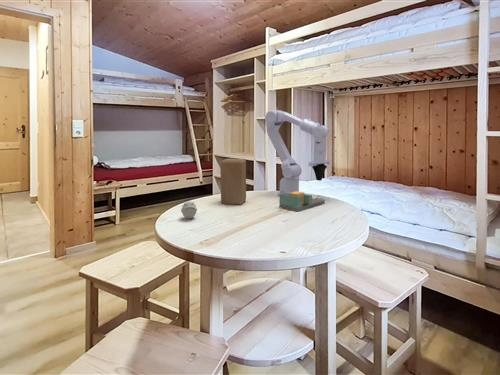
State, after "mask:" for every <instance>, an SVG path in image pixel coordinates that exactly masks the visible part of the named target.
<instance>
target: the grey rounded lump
mask: <svg viewBox="0 0 500 375" xmlns="http://www.w3.org/2000/svg"><path fill="white" fill-rule="evenodd" d="M197 211H198V208H197V206H196V203H195V202H193V201H191V200H187V201H185V202H184V203H183V204H182V206H181V209H180V213H181V214H182V215H183V217H184V218H185V219H190V218H191V219H193V218H194V217H195V215H196V214H197Z"/></svg>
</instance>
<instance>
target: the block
mask: <svg viewBox="0 0 500 375" xmlns="http://www.w3.org/2000/svg"><path fill="white" fill-rule="evenodd" d="M219 164H220V166H219V167H220V168H219V170H220V171H219V172H220V173H219V174H220V202H221V204H222V205H231V204H234V206H237V205H238V206H240V205H241V206H242V205H243V203H245V202H246V200H247V160H246V159H245V158H225V159H222V160H220V163H219Z"/></svg>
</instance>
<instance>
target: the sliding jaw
mask: <svg viewBox="0 0 500 375" xmlns="http://www.w3.org/2000/svg"><path fill="white" fill-rule="evenodd" d="M314 199H319V197H318V195H315V196H313V194H309V193H304V204H308V205H310V204H312V200H314Z"/></svg>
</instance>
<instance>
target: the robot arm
mask: <svg viewBox="0 0 500 375" xmlns="http://www.w3.org/2000/svg"><path fill="white" fill-rule="evenodd" d="M264 121H265V124H266V125H265V128H266V134H267V136H268V138H269V140H270V141H271V144H272V145H273V148H274V150H275V151H276V154H277V157H278V158H279V160H280V162H281V165H280V168H281V172H282V176H283V177H282V178H280V181H279V193H278V196H280V194H282V193H287V194H289V193H291V192H295V191H298V192H300V176H301V174H302V167H301V165H299V164H298V162H297V161H296V160H295V159H294V158H292V156H291V154H290V152H289V150H288V148H287V146H286V144H285V142H284V140H283V138H282V135H281V134H280V132H279V129H280V127H281V126H282V125H283V123H284V122H288V123H291V124H293V125H296V126H298V127H299V129H300V130H301V131H302V132H305V133H307V134H308V135H309V134H310V135H311V136H313V138H314V139H313V140H314V141H313V160H312V161H309V162H308V167H312V170H313V172H314V175H315V180H316V181H322V179H323V176H324V173H325V172H326V169H327V168H328V165H329V164H330V162H331V159H327V145H328V144H327V142H328V141H327V140H328V136H329V132H330V130H329V128H328V127H327V125H321V124H320V122H315V121H312V119H311V118H304V119H301V118H299V117H297V116H295V115H293V114H291V113H289V112H287V111H284V110H273V109H269V110H268V111H267V112H266V113H265V116H264Z"/></svg>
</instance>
